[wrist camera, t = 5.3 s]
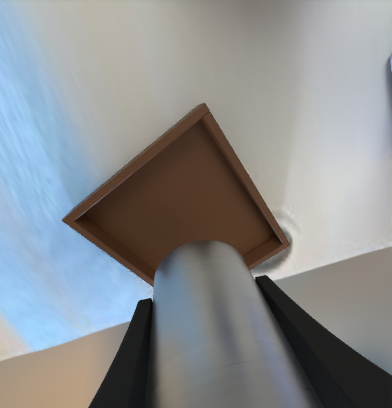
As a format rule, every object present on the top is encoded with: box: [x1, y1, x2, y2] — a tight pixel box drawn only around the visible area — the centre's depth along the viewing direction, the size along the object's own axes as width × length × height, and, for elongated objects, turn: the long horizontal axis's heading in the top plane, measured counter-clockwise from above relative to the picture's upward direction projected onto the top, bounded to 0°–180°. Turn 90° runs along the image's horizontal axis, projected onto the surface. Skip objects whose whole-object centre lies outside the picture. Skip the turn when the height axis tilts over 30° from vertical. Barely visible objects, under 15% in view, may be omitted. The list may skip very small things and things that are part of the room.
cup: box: [145, 240, 324, 408], centre depth 9 cm, size 6×6×7 cm
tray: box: [62, 103, 290, 287], centre depth 17 cm, size 15×13×2 cm
